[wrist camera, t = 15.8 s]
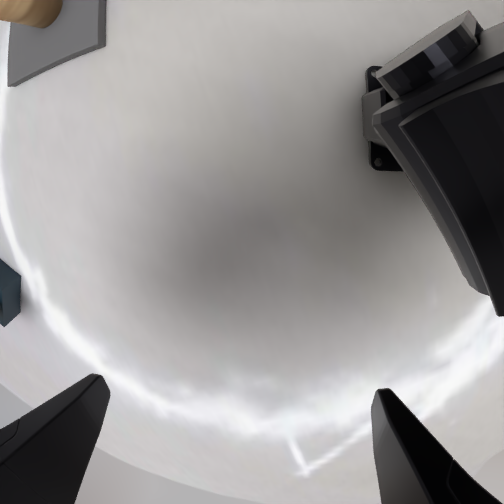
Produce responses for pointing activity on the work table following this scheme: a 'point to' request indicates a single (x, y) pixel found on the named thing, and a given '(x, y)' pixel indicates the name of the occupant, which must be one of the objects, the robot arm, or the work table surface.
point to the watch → (9, 293)
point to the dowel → (30, 12)
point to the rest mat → (55, 39)
